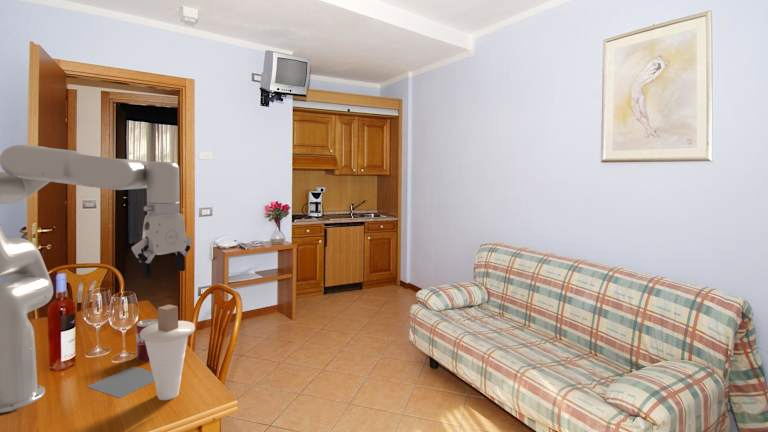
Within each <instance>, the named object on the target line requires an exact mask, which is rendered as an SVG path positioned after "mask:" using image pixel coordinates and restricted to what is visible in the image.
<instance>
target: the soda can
mask: <svg viewBox="0 0 768 432" xmlns="http://www.w3.org/2000/svg"><path fill="white" fill-rule="evenodd" d="M156 323H158V318H156V319H155V318H150V319H144V320H141V321H138V322H137V323H136V325H135V342H136V343H135V344H136V360H137V361H139V362H150V361H149V356H148V352H147V348H146V344H145V341H144V340H142V339H141V337H140V332H141V330H143V329H144V328H146V327H148V326H150V325H153V324H156Z"/></svg>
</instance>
